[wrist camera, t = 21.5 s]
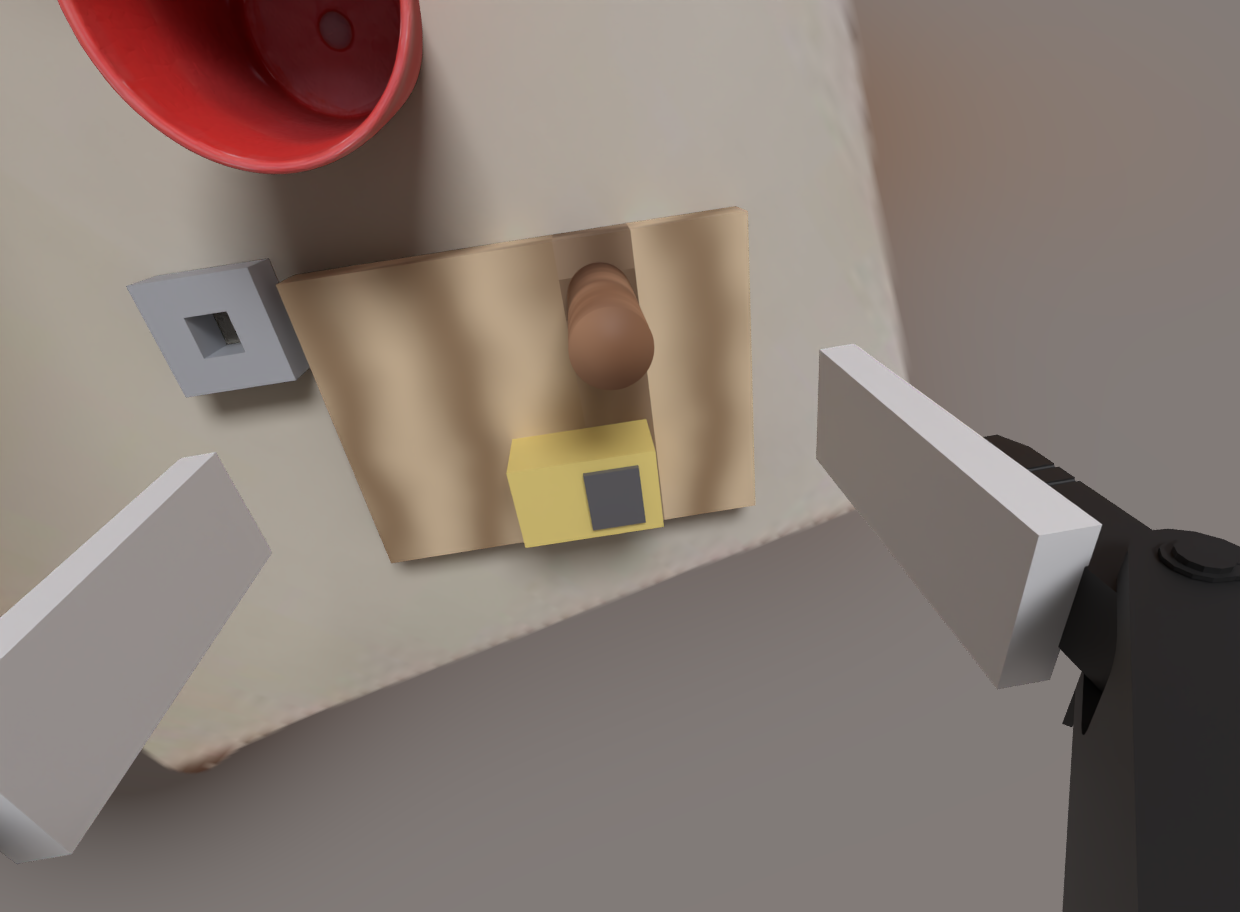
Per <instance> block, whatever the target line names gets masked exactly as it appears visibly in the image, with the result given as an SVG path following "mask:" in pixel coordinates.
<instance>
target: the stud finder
mask: <svg viewBox="0 0 1240 912" xmlns="http://www.w3.org/2000/svg"><path fill="white" fill-rule="evenodd" d="M506 474H507V478H508V482H509V486H510V490H511V494H512V497H513V501H514V505H515V509H516V513H517V517H518V521H519V524H520V528H521V532H522V536H523V540H524V544H525V548H529V547H535V546H542V545H548V544H555V543H561V542H568V541H574V540H581V539H587V538H594V537H600V536H607V535H613V534H620V533H626V532H633V531H639V530H646V529H652V528H659V527H664V523H663V514H662V505H661V496H660V487H659V478H658V470H657V461H656V452H655V448H654V444H653V441H652V437H651V434H650V430H649V427H648V423H647V420H646V419H643V420H636V421H630V422H623V423H617V424H610V425H603V426H597V427H590V428H584V429H577V430H571V431H564V432H557V433H551V434H544V435H538V436H531V437H524V438H518V439H512V443H511V449H510V455H509V461H508V467H507V472H506Z"/></svg>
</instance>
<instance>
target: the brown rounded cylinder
mask: <svg viewBox="0 0 1240 912" xmlns="http://www.w3.org/2000/svg"><path fill="white" fill-rule="evenodd" d="M567 299H568V352H569V359H570V362H571V365H572V367H573V369H574V371H575V372H576V374H577V375H578V376H579V377H580V378H581V379H582V380H583V381H584V382H586V383H587V384H589V385H591V386H593V387H595V388H598V389H602V390H619V389H623V388H626V387H629V386H631V385H632V384H634V383H636V382H637V381H638V380H640V379H641V378H642V377H643V376H644V375H645V373H646V372H647V371H648V369H649V367H650V365H651V363H652V360H653V356H654V339H653V335H652V333H651V330H650V328H649V326H648V323H647V321H646V319H645V317H644V314H643V312H642V310H641V308H640V305H639V303H638V301H637V299H636V296H635V294H634V292H633V290H632V287H631V285H630V283H629V281H628V279H627V277H626V276H625V274H624V273H623V272H622V271H621V270H620V269H619V268H617V267H615V266H613V265H611V264H608V263H603V262H597V263H591V264H588V265H586V266H584V267H582V268H581V269H580V270H578V271H577V272H576V273H575V275H574V276H573V277H572V279H571V281H570V283H569V287H568V292H567Z"/></svg>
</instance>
